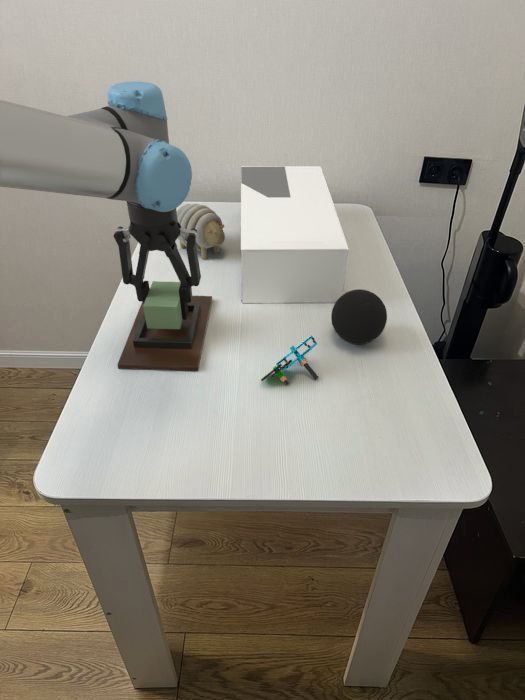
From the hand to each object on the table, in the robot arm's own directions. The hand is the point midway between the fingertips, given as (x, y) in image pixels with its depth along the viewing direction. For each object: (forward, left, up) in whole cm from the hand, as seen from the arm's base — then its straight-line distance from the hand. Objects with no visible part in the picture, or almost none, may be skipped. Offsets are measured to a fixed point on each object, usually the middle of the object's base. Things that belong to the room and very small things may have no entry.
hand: (167, 314), depth 91 cm
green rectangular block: (0, 0, 0) cm, 0 cm away
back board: (0, 0, -4) cm, 4 cm away
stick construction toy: (+18, -19, -4) cm, 27 cm away
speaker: (+33, -13, -4) cm, 36 cm away
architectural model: (+32, +23, -4) cm, 40 cm away
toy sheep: (+13, +30, -4) cm, 33 cm away
